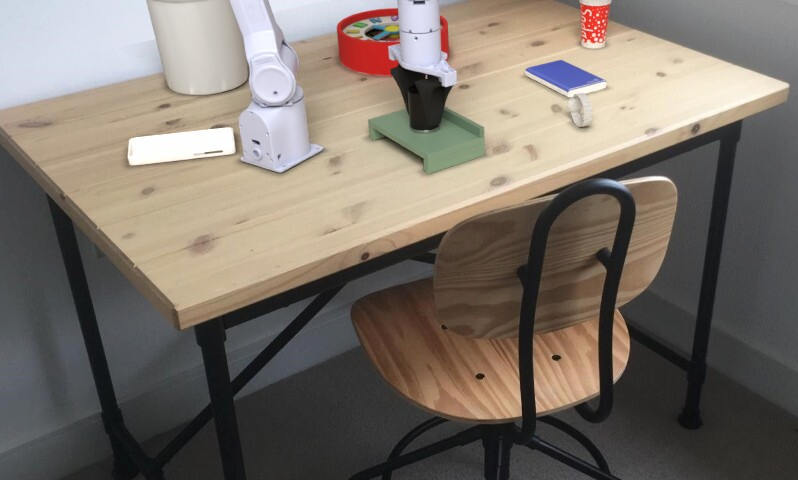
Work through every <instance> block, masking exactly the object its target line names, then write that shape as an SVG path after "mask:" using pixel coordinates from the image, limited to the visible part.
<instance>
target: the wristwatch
mask: <svg viewBox="0 0 798 480" xmlns="http://www.w3.org/2000/svg"><path fill="white" fill-rule="evenodd" d="M566 108H567V110H568V111H569V112H570V115H571V118H572V121H573V123H574V125H575V126H576V127H578V128H582V127H583V128H584V127H588V126H590V125H591V124H592V119H593V106H592V103H591V101H590V98H589V96H588V95H587V93H586V94H585V93H579V94H574V95H573V97H571V98H570V99H569V100H568V102H567V104H566ZM582 109H583V114H582V116H581V110H582Z"/></svg>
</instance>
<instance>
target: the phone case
mask: <svg viewBox="0 0 798 480" xmlns="http://www.w3.org/2000/svg"><path fill="white" fill-rule="evenodd" d="M127 147H128V148H127V160H128V164H129V166H142V165H151V164H152V165H153V164H161V163H168V162H178V161H185V160H186V161H187V160H194V159H202V158H209V157H210V158H212V157H220V156H229V155H234V154H236V153H237V147H236V141H235V133H234V128H233V127H228V126H227V127H219V128H210V129H201V130H191V131H183V132H182V131H181V132H173V133H163V134H154V135H144V136H136V137H131V138H129V139H128V146H127ZM221 151H222V152H221Z"/></svg>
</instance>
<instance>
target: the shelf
mask: <svg viewBox="0 0 798 480" xmlns="http://www.w3.org/2000/svg"><path fill="white" fill-rule="evenodd" d="M367 124H368V134H369V135H368V136H369V139H370V140H373V141H376V140H379V139H382V138H388V139H390V140H392V141H394V142H395V143H396V144H399V145H400V146H402V147H403V148H405V149H407V150H408V151H410V152H411V153H413V154H415V155H417V156H419V157H420V158H421V159H423V172H424V173H426V174H428V175H430V174H433V173H437V172H439V171H442V170H445V169H448V168H452V167H454V166H457V165H461V164H463V163H467V162H469V161H472V160H475V159H478V158H481V157H484V156H485V155H486V153H485V151H486V150H485V149H486V148H485V145H486V144H485V127H484V126H483V125H481V124H479V123H477V122H476V121H473V120H472V119H470V118H468V117H466V116H463V115H462V114H460V113H458V112H456V111H454V110H452V109H450V108H448V107H447V106H446V105H445V106H444V111H443V115H442V120H441V123H440V126H441V127H440V129H439V130H438V131H437V132H434V133H430V134H418V133H414V132H412V131H411V130H410V129H409V124H410V119H409V115H408V112H407V109H406V108H403V109H400V110H396V111H393V112H389V113H385V114H382V115H379V116H375V117H372V118H369V119H367Z"/></svg>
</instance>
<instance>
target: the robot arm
mask: <svg viewBox="0 0 798 480" xmlns="http://www.w3.org/2000/svg"><path fill="white" fill-rule="evenodd" d="M229 1H230V3H231V6H232V9H233V11H234V14H235V17H236V20H237V22H238V25H239V28H240V30H241V33H242V36H243V41H244V47H245V54H246V61H247V65H248V67H249V74H248V86H249V89H250V92H251V102H250V104H249V105H248V107H247V108H245V109H244V110H242V111H241V113H240V114H239V117H238V129H239V135H240V140H241V146H242V152H243V156H241V157H240V162H243V163H247V164H249V165H253V166H256V167H260V168H262V169H266V170H268V171H272V172H276V173H279V174H280V173H281V174H282V173H284V172H285V171H287V170H289V169H291V168H293V167H294V166H296V165H298V164H300V163H302V162H304V161H307V159H309V158H311V157H313V156H315V155H316V154H319V153H320V152H323V151H324V146H322V145H319V144H316V143H313V142H311V141H310V133H309V125H308V117H307V108H306V101H305V93H304V90H303V88H302V87H301V86H300V85H299V84H298V82H297V76H298V72H299V69H300V58H299V56H298V53H297V52H296V50H295V49H294V47H292V46H291V45H290V44H289V42H288V41H287V40H286V38H285V35H284V33H283V30H282V29H281V27H280V26H279V25H278V23H277V21H276V18H275V15H274V13H273V10H272V7H271V4H270V1H269V0H229ZM397 8H398V16H399V32H400V44H396V45H392V46H388V50H389V59H390V60H393V61H394V60H397V61H398V62H399V65H398V67H394V68H391V69H390V73H391V75H392V76H391V77H392V79H394V81H395V83H396V84H397V87H398V89H399V91H400V94H401V96H402V99H403V102H404V105H405V109H407V112H408V115H409V103H408V88H409V87H410V86H413V85H416V87H417V89H418V91H419V93H420V95H421V99H422V102H423V107H424V115H425V120H426V123H427V125H428V126H434V125H437V124H440V123H441V120H442V115H443V111H444V106H445V107H446V102H447V100H448V97H449V95H450V92H451V91H452V89H453V87H454V86H455V85H458V71H457V70H456V69H454V68H453V67H452V66H451V65H450V64H449V63H448V62H447V61H446V60H445V59H447V53H445V52H442V51H441V35H440V16H441V12H440V11H441V10H440V9H441V8H440V0H397Z"/></svg>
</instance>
